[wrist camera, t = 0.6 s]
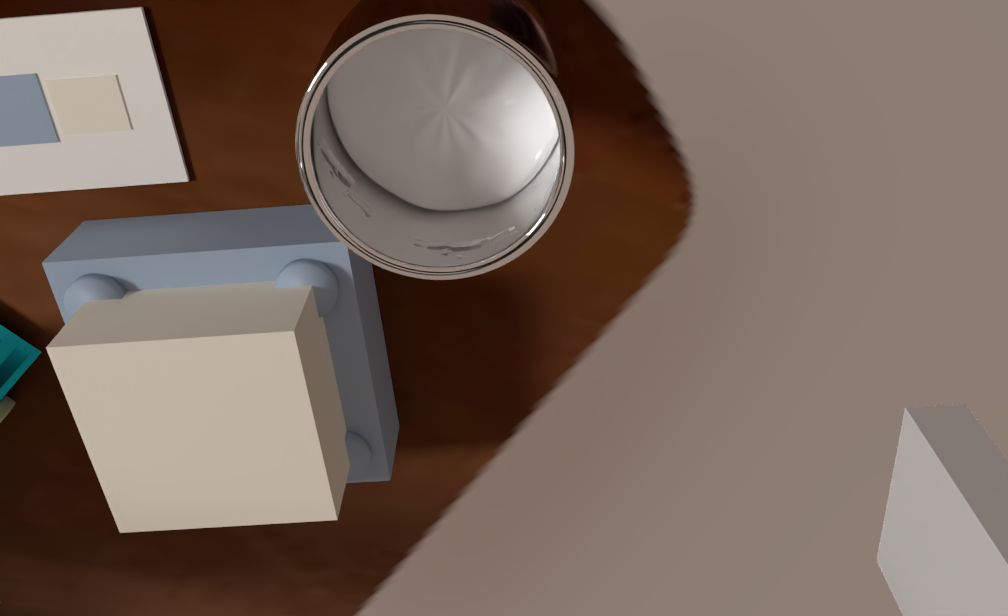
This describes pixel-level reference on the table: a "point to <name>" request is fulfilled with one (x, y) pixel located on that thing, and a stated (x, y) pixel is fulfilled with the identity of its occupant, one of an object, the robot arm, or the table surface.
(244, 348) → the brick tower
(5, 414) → the toy train
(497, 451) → the table surface
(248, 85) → the table surface
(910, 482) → the robot arm
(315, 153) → the beer glass
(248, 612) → the table surface
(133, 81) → the page
